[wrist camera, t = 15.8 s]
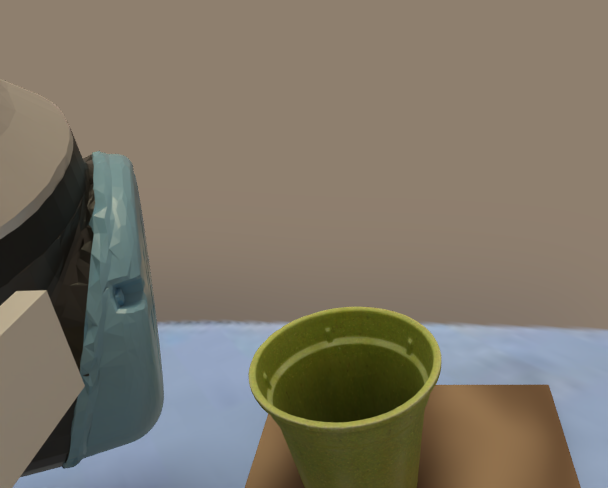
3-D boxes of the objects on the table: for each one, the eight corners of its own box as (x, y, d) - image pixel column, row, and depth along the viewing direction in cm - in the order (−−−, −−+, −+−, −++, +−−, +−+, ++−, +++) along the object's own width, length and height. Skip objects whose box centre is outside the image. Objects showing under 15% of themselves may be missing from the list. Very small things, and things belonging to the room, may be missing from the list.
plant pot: (379, 601, 26) (359, 460, 22) (243, 499, 32) (210, 375, 28) (480, 468, 32) (478, 338, 28) (348, 403, 38) (332, 290, 34)
